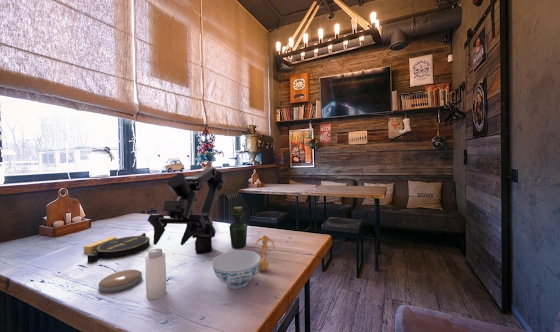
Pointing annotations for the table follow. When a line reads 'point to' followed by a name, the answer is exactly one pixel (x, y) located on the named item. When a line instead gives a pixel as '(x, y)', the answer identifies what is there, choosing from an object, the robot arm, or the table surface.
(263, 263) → the figurine
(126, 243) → the decorative sign
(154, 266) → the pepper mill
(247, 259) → the chinaware
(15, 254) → the table surface
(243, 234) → the potion bottle
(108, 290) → the display plinth
